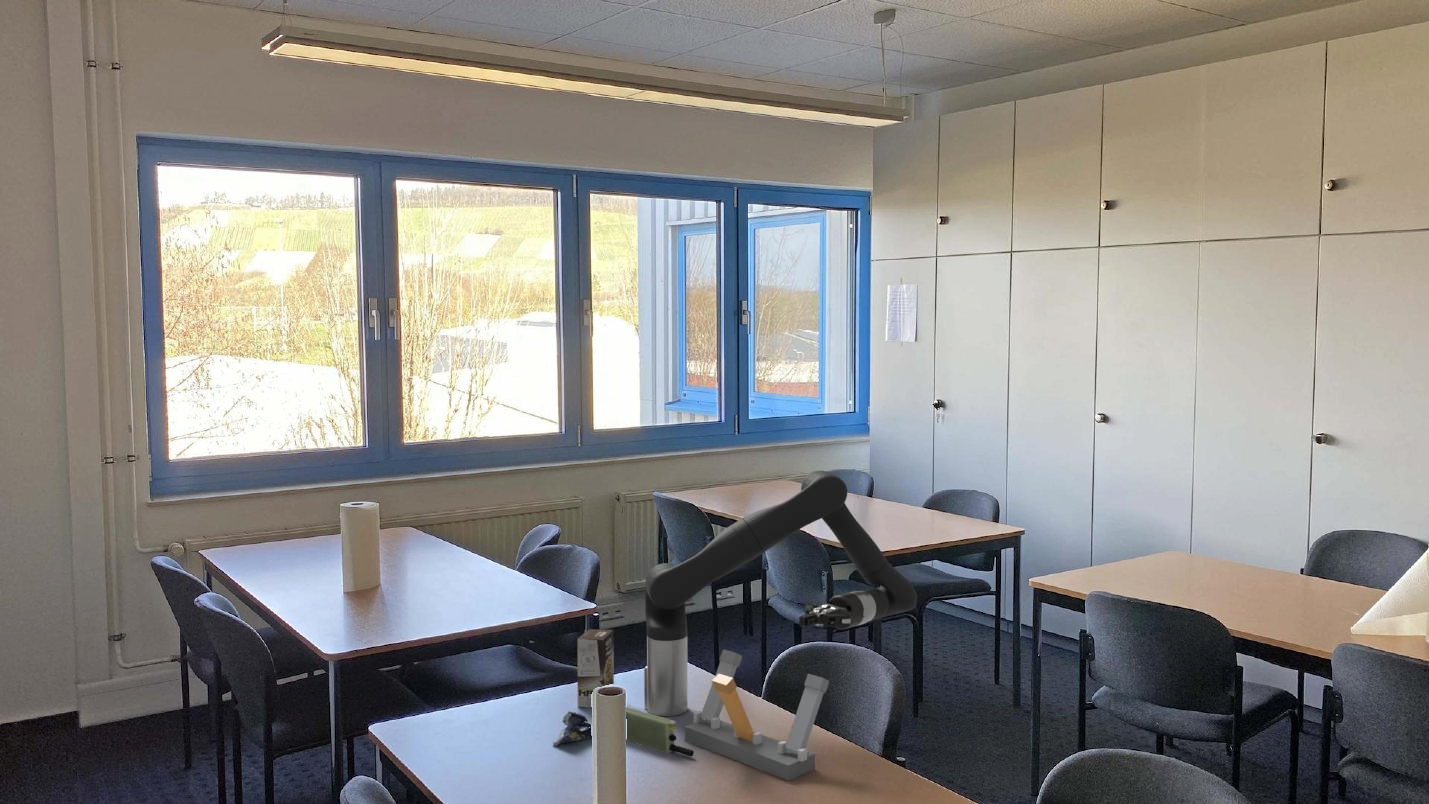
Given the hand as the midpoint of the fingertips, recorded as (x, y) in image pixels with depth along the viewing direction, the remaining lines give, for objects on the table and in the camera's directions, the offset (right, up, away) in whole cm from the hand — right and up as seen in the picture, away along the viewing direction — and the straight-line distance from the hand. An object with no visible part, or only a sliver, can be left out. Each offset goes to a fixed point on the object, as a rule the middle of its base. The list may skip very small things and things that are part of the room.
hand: (801, 621), depth 226 cm
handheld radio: (-33, -25, -5) cm, 42 cm away
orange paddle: (-12, -22, -11) cm, 27 cm away
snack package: (-48, -25, -1) cm, 54 cm away
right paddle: (-3, -22, -19) cm, 30 cm away
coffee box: (-46, -23, +21) cm, 56 cm away
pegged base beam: (-12, -25, -11) cm, 30 cm away
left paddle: (-20, -21, -2) cm, 30 cm away
